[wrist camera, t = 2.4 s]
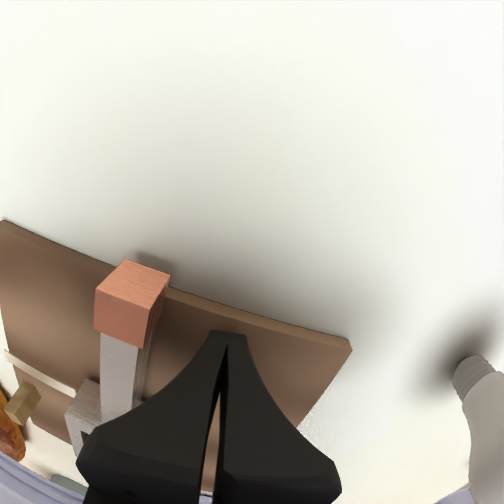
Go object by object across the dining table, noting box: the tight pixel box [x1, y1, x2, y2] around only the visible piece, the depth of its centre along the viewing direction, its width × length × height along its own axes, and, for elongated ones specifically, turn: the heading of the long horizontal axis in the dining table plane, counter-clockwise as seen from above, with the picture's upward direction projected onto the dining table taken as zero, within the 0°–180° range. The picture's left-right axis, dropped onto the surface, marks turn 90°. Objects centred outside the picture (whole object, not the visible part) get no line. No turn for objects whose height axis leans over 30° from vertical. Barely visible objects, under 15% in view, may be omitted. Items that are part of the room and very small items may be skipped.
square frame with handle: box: [64, 259, 171, 457], centre depth 11 cm, size 13×5×3 cm, turn 161°
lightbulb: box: [452, 355, 504, 504], centre depth 8 cm, size 6×6×11 cm
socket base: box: [0, 220, 352, 492], centre depth 12 cm, size 18×18×5 cm
